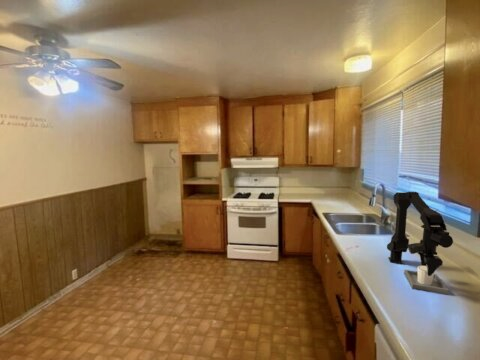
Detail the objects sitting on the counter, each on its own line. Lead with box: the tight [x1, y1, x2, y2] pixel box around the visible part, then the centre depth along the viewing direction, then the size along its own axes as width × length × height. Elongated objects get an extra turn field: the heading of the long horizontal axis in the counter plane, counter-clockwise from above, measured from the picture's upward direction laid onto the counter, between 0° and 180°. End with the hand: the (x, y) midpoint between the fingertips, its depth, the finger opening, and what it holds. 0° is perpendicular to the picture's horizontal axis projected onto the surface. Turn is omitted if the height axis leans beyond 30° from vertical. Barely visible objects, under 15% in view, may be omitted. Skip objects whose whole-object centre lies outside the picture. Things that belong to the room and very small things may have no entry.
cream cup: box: [417, 264, 436, 285], centre depth 131 cm, size 7×7×7 cm
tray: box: [403, 269, 450, 295], centre depth 132 cm, size 16×14×2 cm
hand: (426, 271), depth 131 cm, fingers open, 9 cm apart
